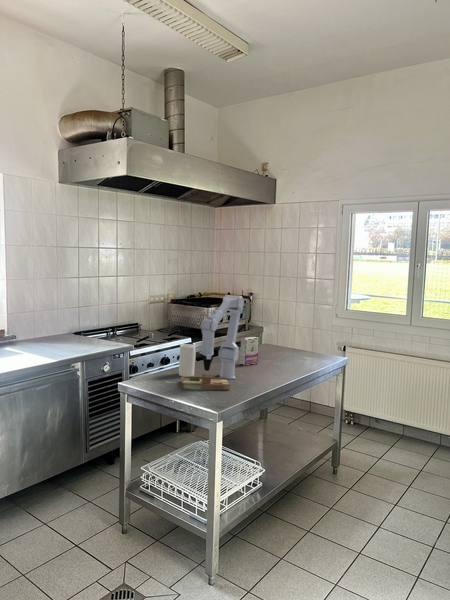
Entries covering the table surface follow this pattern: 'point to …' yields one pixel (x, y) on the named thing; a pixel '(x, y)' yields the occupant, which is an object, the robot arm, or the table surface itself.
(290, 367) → the table surface
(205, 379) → the walnut cube
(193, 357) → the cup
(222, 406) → the table surface
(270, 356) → the table surface
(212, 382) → the trap tray
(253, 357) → the candy bar box
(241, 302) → the robot arm
